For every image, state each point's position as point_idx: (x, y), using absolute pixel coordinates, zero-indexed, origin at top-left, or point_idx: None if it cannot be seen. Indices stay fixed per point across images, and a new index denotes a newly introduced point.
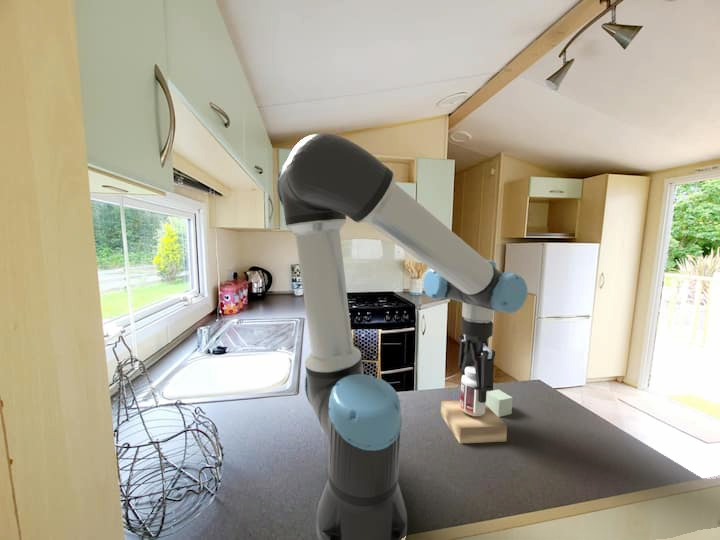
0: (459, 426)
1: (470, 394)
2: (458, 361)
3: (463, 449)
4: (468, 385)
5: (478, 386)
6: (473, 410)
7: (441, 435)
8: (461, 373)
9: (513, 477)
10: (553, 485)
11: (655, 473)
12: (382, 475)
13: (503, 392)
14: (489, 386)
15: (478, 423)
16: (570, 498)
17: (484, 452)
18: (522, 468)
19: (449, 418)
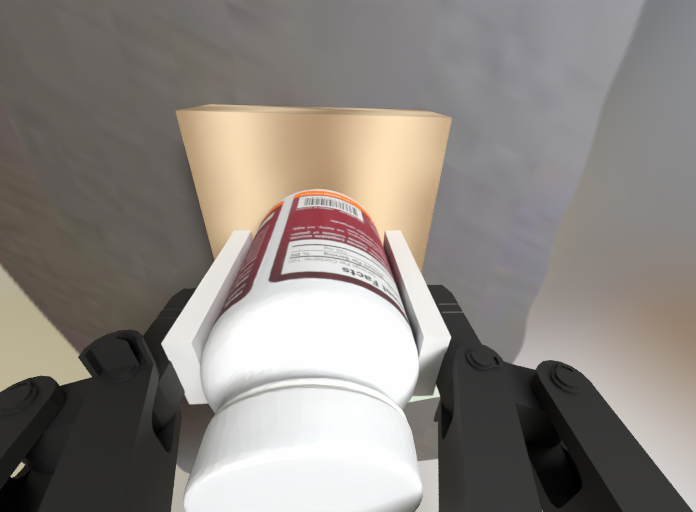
0: (190, 110)
1: (239, 272)
2: (635, 443)
3: (172, 102)
4: (233, 308)
5: (110, 379)
6: (248, 235)
7: (262, 29)
8: (476, 344)
9: (63, 215)
10: (74, 298)
11: (182, 454)
12: None
13: (426, 398)
14: (25, 464)
15: (231, 224)
16: (39, 308)
17: (172, 184)
18: (120, 261)
19: (323, 111)
